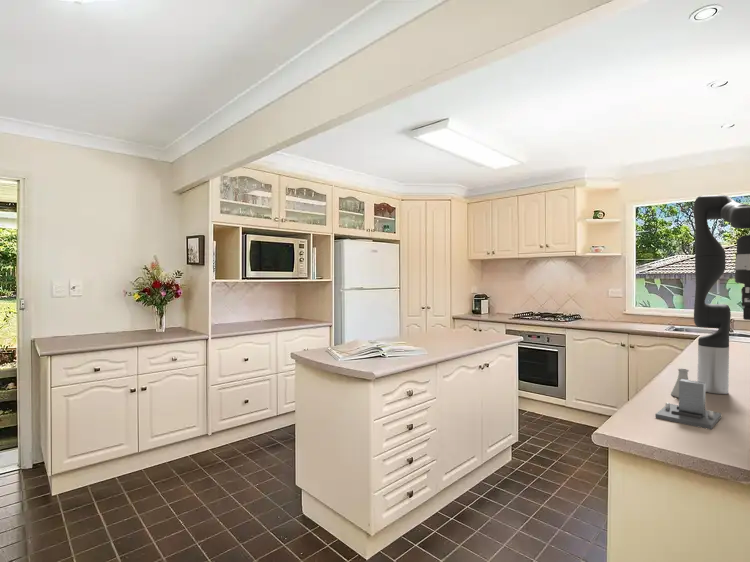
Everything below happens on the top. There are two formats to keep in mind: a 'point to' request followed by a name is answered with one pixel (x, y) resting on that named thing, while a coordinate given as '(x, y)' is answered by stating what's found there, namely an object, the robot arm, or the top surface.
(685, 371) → the flask
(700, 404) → the drive
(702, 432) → the top surface
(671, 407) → the gray docking base
